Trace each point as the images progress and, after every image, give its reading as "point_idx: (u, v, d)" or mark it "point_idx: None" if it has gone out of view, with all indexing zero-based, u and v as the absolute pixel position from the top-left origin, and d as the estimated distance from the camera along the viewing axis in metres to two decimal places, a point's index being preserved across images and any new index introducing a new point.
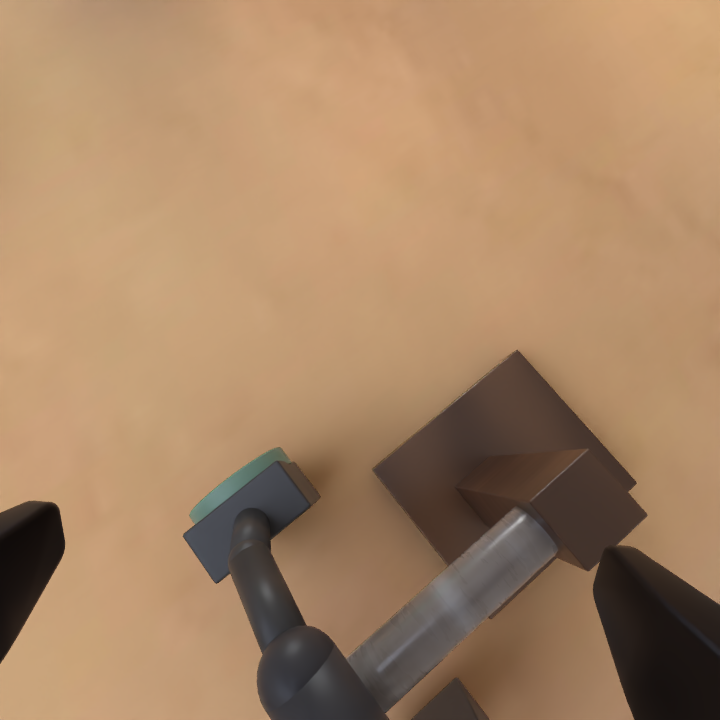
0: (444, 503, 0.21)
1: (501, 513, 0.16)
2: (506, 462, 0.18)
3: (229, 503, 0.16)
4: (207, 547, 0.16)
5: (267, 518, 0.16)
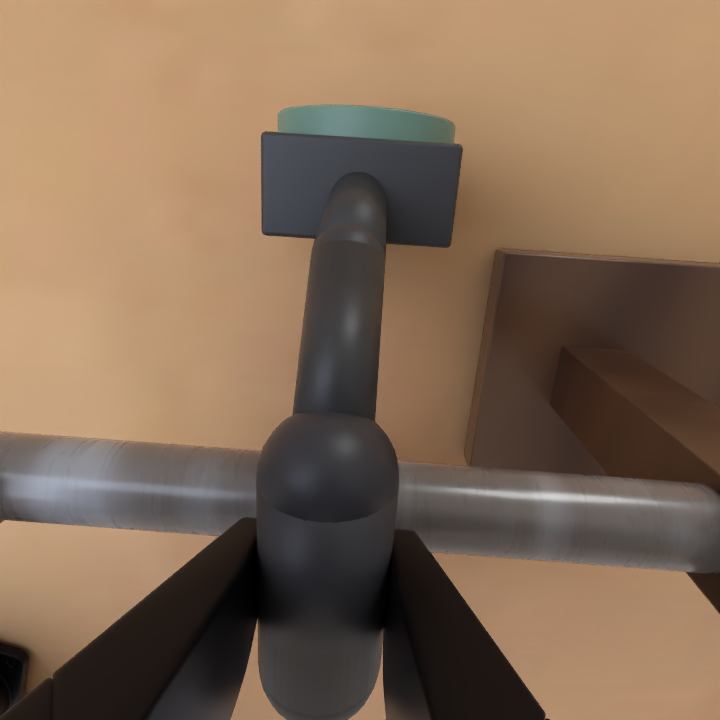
0: (536, 350, 0.16)
1: (632, 444, 0.11)
2: (676, 391, 0.12)
3: (354, 146, 0.09)
4: (283, 178, 0.10)
5: (386, 213, 0.10)
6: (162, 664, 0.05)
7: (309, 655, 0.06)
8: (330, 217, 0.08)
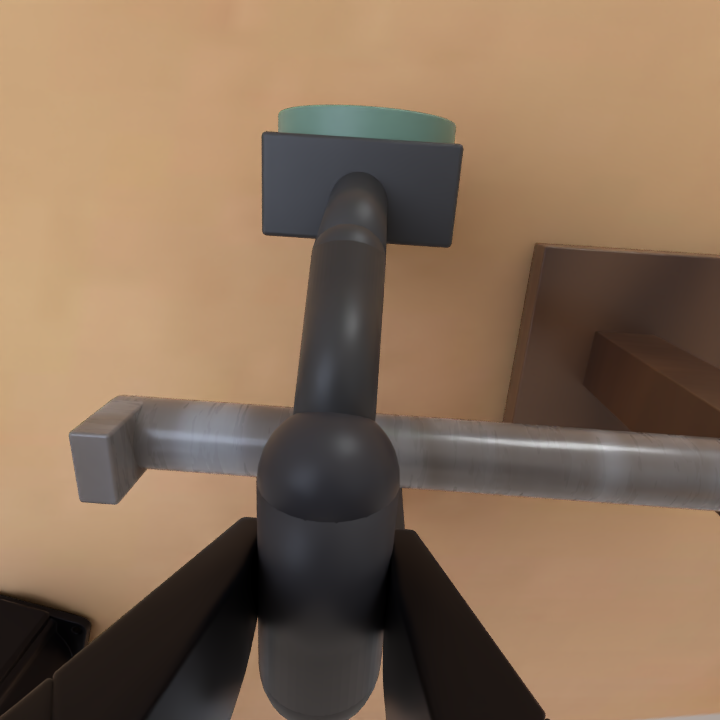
0: (571, 335, 0.18)
1: (667, 412, 0.13)
2: (704, 368, 0.14)
3: (355, 146, 0.09)
4: (284, 178, 0.10)
5: (387, 213, 0.10)
6: (162, 664, 0.05)
7: (309, 655, 0.06)
8: (331, 217, 0.08)
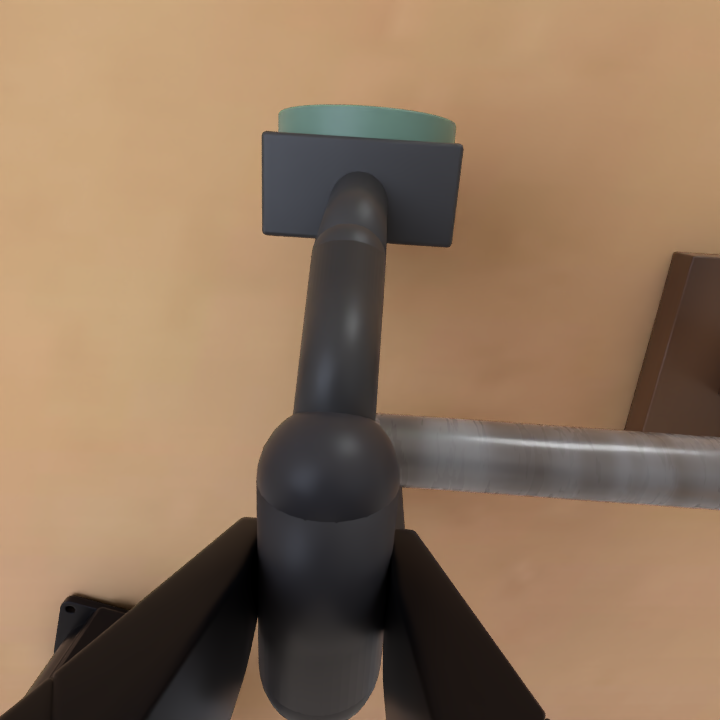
0: (711, 344, 0.17)
1: None
2: None
3: (355, 146, 0.09)
4: (283, 178, 0.10)
5: (387, 213, 0.10)
6: (162, 664, 0.05)
7: (309, 655, 0.06)
8: (331, 217, 0.08)
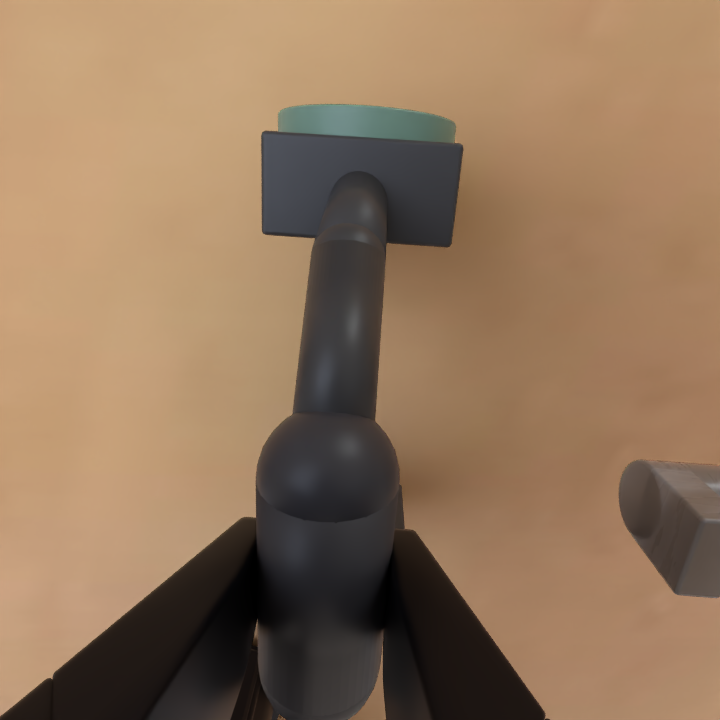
0: None
1: None
2: None
3: (354, 145, 0.09)
4: (283, 177, 0.10)
5: (387, 212, 0.10)
6: (162, 664, 0.05)
7: (309, 655, 0.06)
8: (330, 216, 0.08)
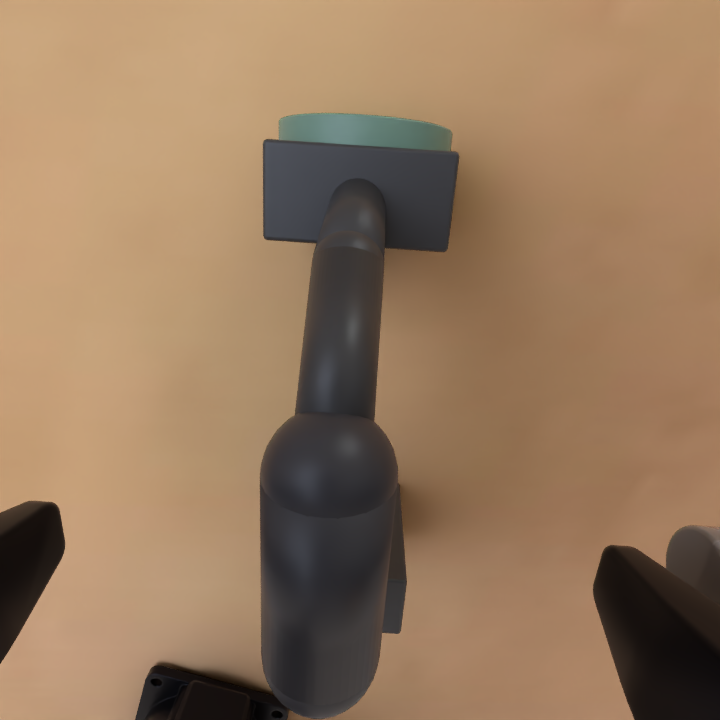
0: None
1: None
2: None
3: (353, 153, 0.10)
4: (284, 184, 0.10)
5: (385, 218, 0.10)
6: None
7: (311, 646, 0.07)
8: (331, 224, 0.08)
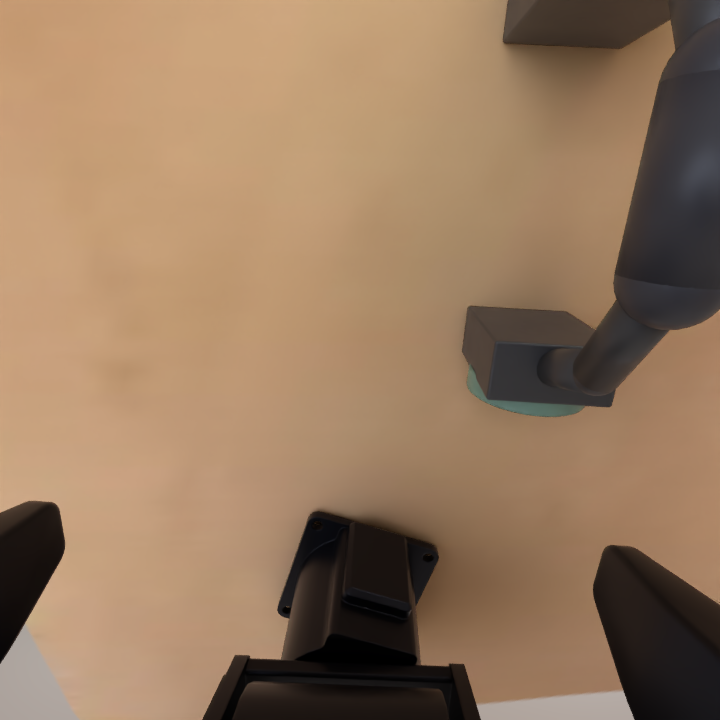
0: None
1: None
2: None
3: None
4: None
5: None
6: None
7: (719, 220, 0.08)
8: None
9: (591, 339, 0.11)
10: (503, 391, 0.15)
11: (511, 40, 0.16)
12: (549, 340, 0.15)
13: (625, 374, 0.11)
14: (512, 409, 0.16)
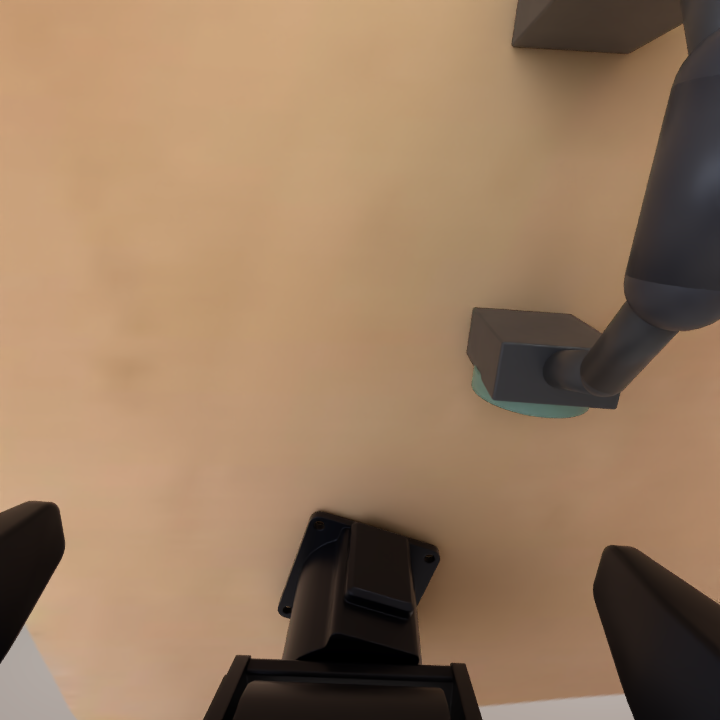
0: None
1: None
2: None
3: None
4: None
5: None
6: None
7: None
8: None
9: (599, 340, 0.11)
10: (509, 392, 0.15)
11: (520, 44, 0.16)
12: (555, 342, 0.15)
13: (633, 375, 0.11)
14: (517, 410, 0.16)
